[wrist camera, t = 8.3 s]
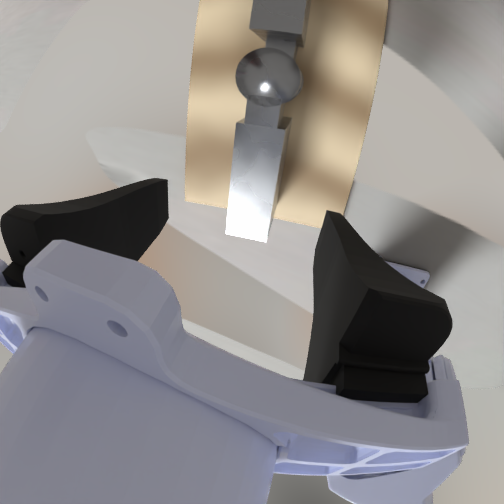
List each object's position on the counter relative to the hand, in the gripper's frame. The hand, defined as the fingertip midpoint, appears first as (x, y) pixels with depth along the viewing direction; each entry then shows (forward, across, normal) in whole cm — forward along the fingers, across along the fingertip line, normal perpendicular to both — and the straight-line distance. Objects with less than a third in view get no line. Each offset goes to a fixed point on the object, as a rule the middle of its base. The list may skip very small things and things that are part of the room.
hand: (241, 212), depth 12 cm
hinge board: (+9, 0, -6) cm, 11 cm away
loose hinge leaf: (+8, 0, -2) cm, 8 cm away
